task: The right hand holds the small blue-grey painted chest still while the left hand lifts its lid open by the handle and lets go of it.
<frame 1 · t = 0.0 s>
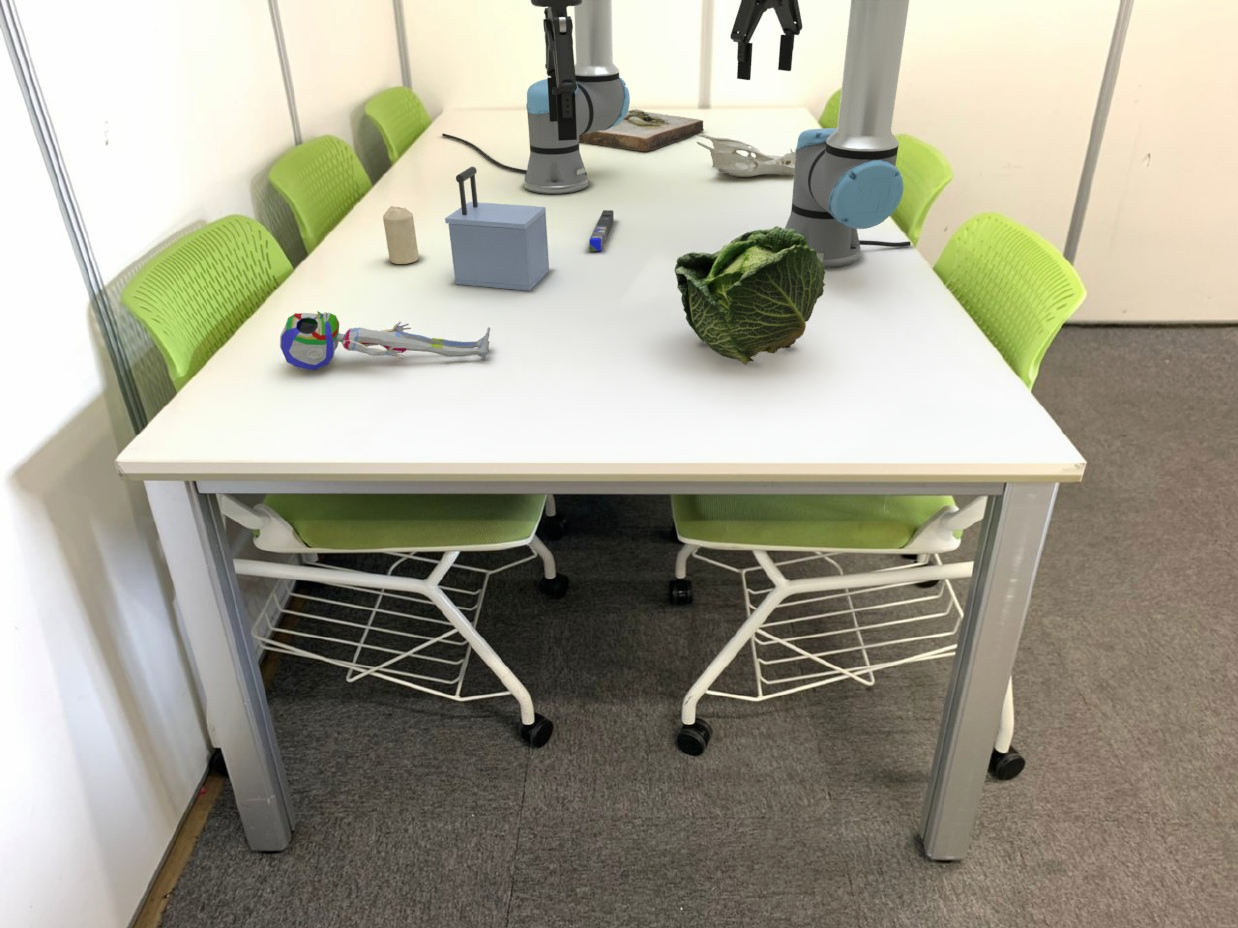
left hand: (764, 75, 179), 28 cm above the table, tool pointing down, fingers open, 13 cm apart
right hand: (562, 130, 139), 28 cm above the table, tool pointing down, fingers open, 13 cm apart
lid: (494, 195, 156), point 15 cm above the table, hinge at 0.0°
plaque: (633, 136, 259), on the table
pillar: (602, 236, 183), on the table
toy: (390, 361, 135), on the table
anatomical model: (746, 174, 221), on the table
candle: (404, 260, 172), on the table
vegetable: (746, 350, 136), on the table
chest: (503, 277, 164), on the table
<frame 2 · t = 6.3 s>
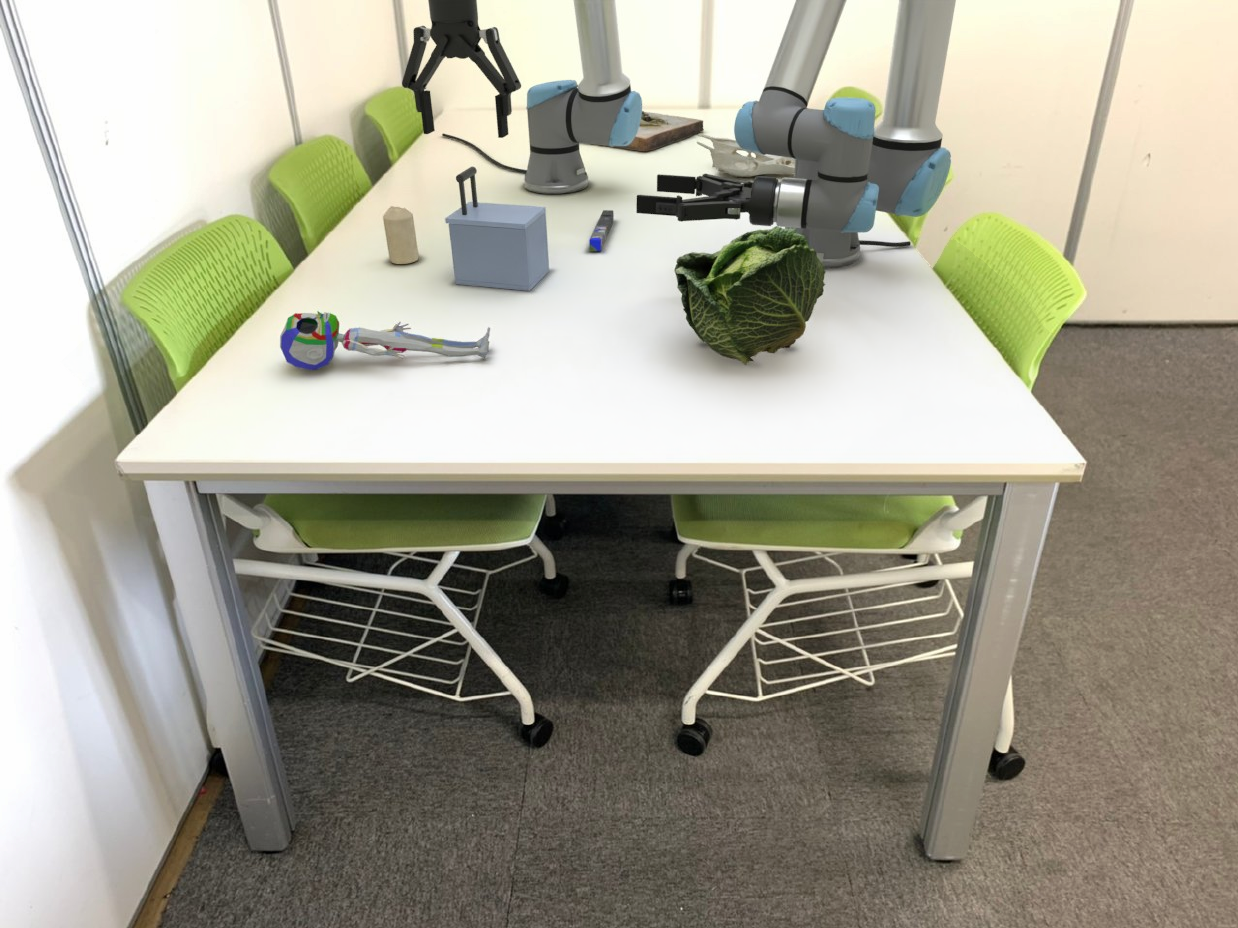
left hand: (466, 134, 152), 25 cm above the table, tool pointing down, fingers open, 13 cm apart
right hand: (647, 193, 148), 17 cm above the table, tool horizontal, fingers open, 13 cm apart
nothing on the table moved.
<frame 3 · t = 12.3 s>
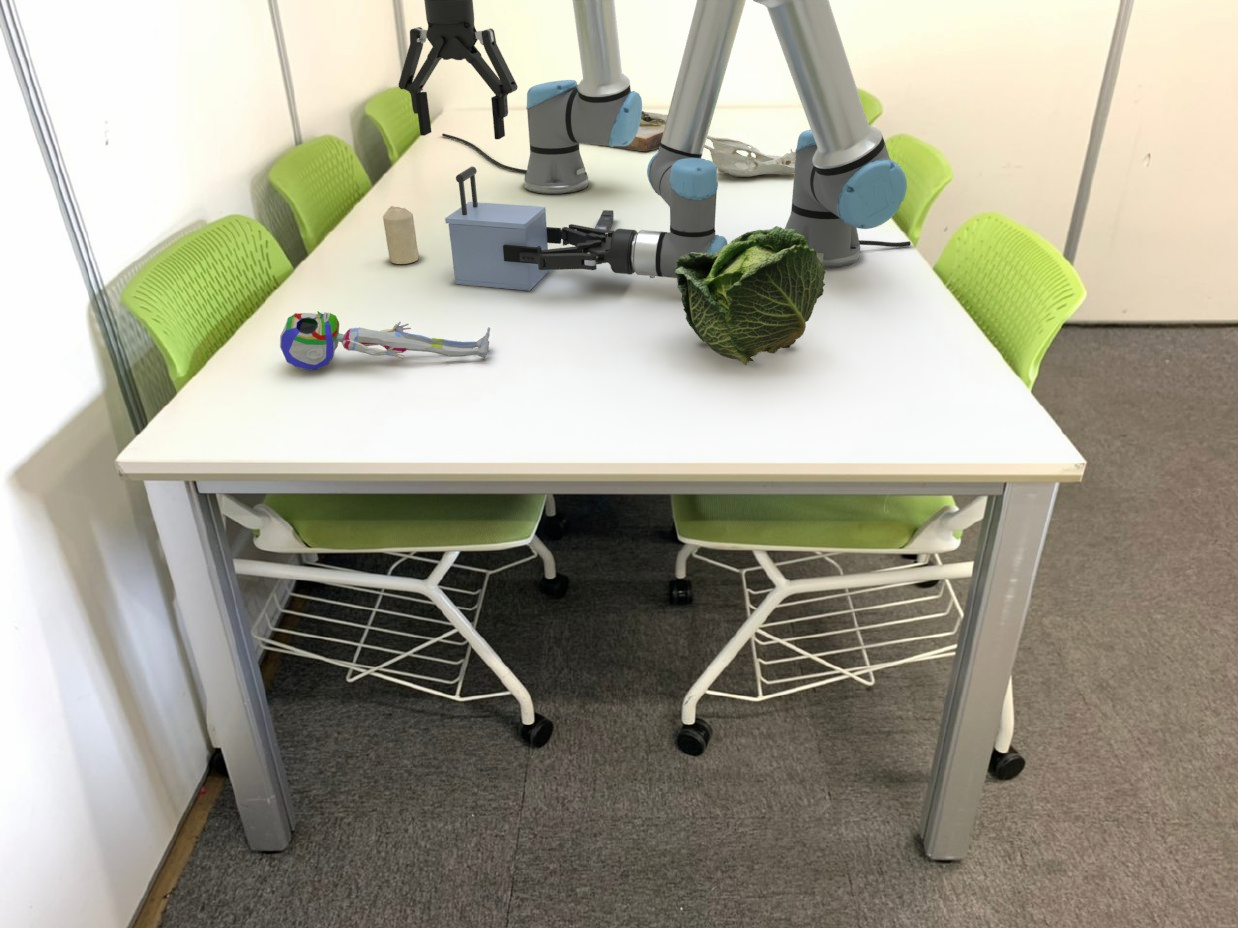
left hand: (462, 136, 152), 25 cm above the table, tool pointing down, fingers open, 13 cm apart
right hand: (515, 243, 159), 7 cm above the table, tool horizontal, fingers closed on chest, 10 cm apart
chest: (503, 277, 164), on the table, touching right hand
everything else where it was.
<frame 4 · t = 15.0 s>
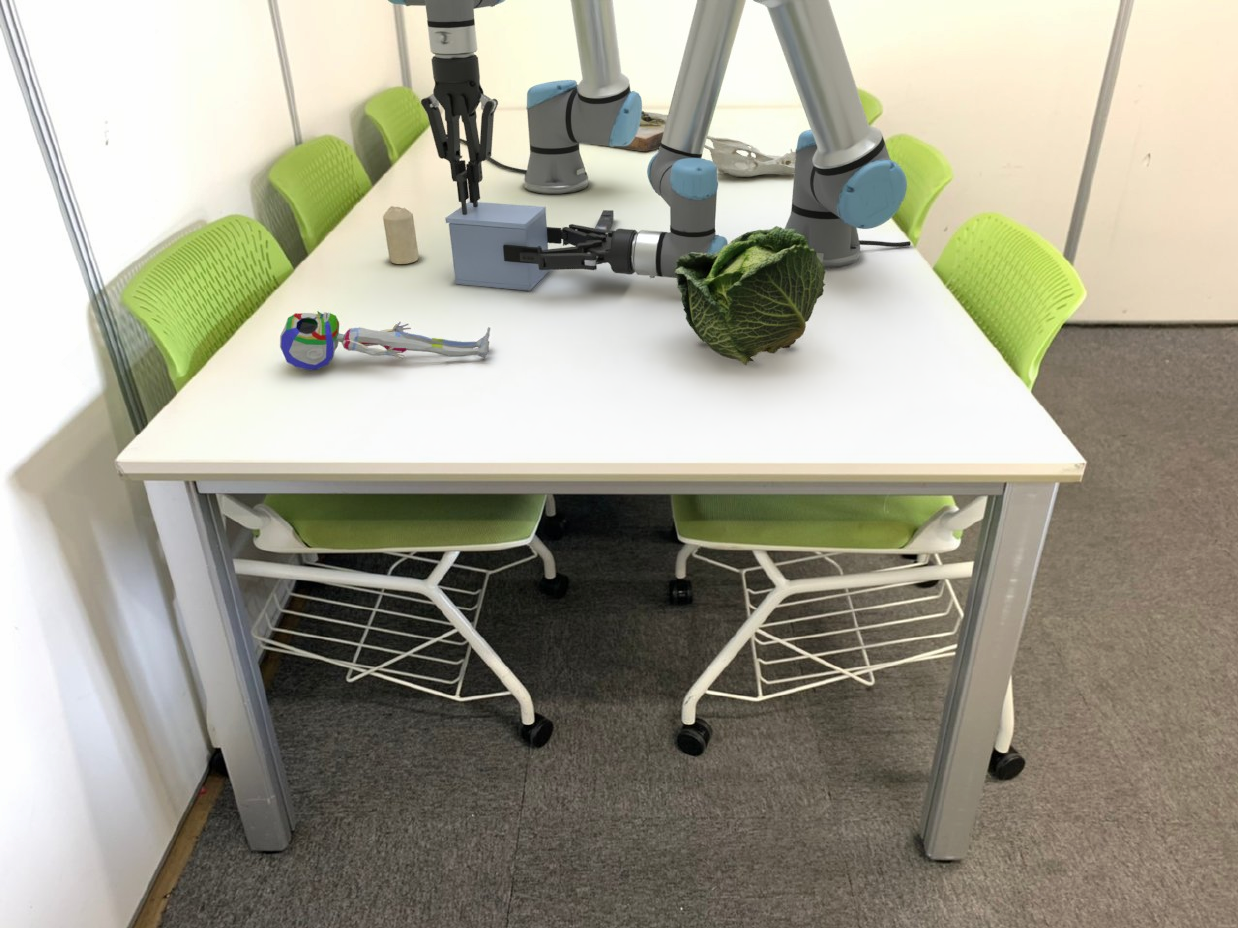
left hand: (469, 200, 158), 14 cm above the table, tool pointing down, fingers closed on lid, 1 cm apart
right hand: (515, 243, 159), 7 cm above the table, tool horizontal, fingers closed on chest, 10 cm apart
lid: (494, 195, 156), point 15 cm above the table, hinge at 0.2°, touching left hand
chest: (503, 277, 164), on the table, touching right hand
everything else where it was.
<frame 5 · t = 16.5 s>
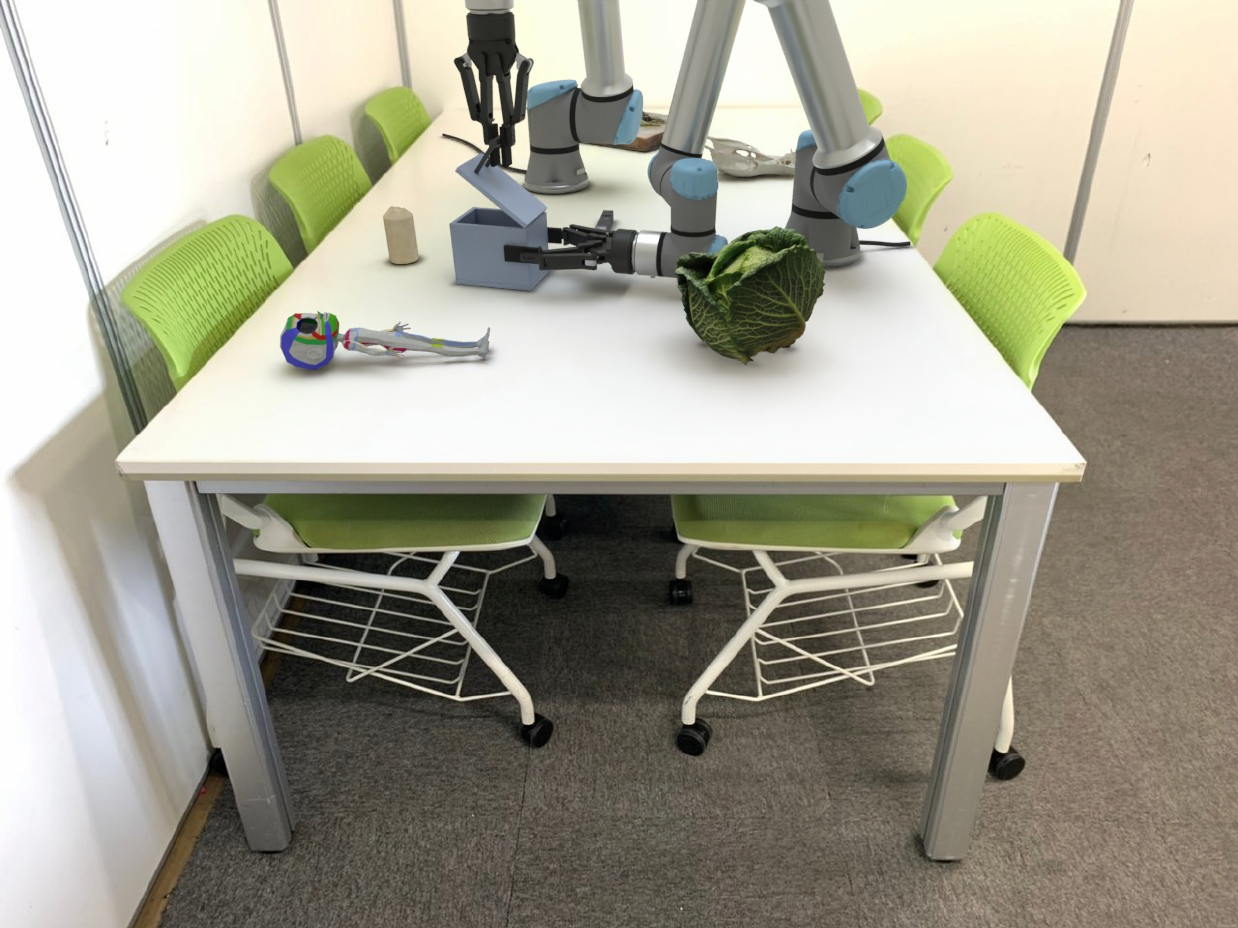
left hand: (501, 165, 153), 20 cm above the table, tool pointing down, fingers closed on lid, 1 cm apart
right hand: (516, 243, 159), 7 cm above the table, tool horizontal, fingers closed on chest, 10 cm apart
lid: (512, 174, 153), point 19 cm above the table, hinge at 37.0°, touching left hand
chest: (503, 277, 164), on the table, touching right hand
everything else where it was.
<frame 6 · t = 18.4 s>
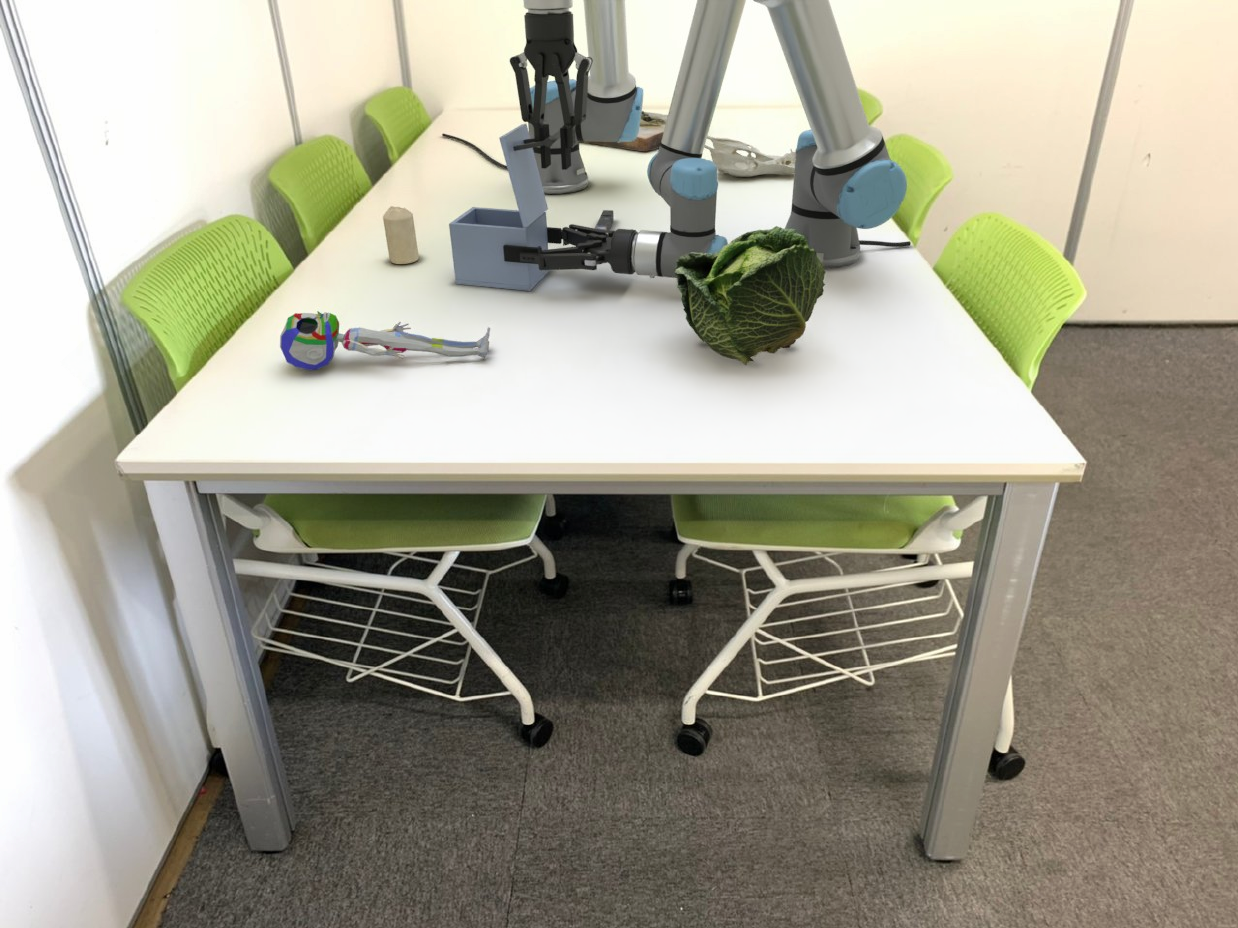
left hand: (556, 166, 150), 20 cm above the table, tool pointing down, fingers open, 3 cm apart
right hand: (516, 243, 159), 7 cm above the table, tool horizontal, fingers closed on chest, 10 cm apart
lid: (543, 172, 151), point 19 cm above the table, hinge at 77.9°
chest: (503, 277, 164), on the table, touching right hand
everything else where it was.
when the right hand's fingers open (7 cm above the table, at t = 22.2 s): chest stays where it is, on the table.
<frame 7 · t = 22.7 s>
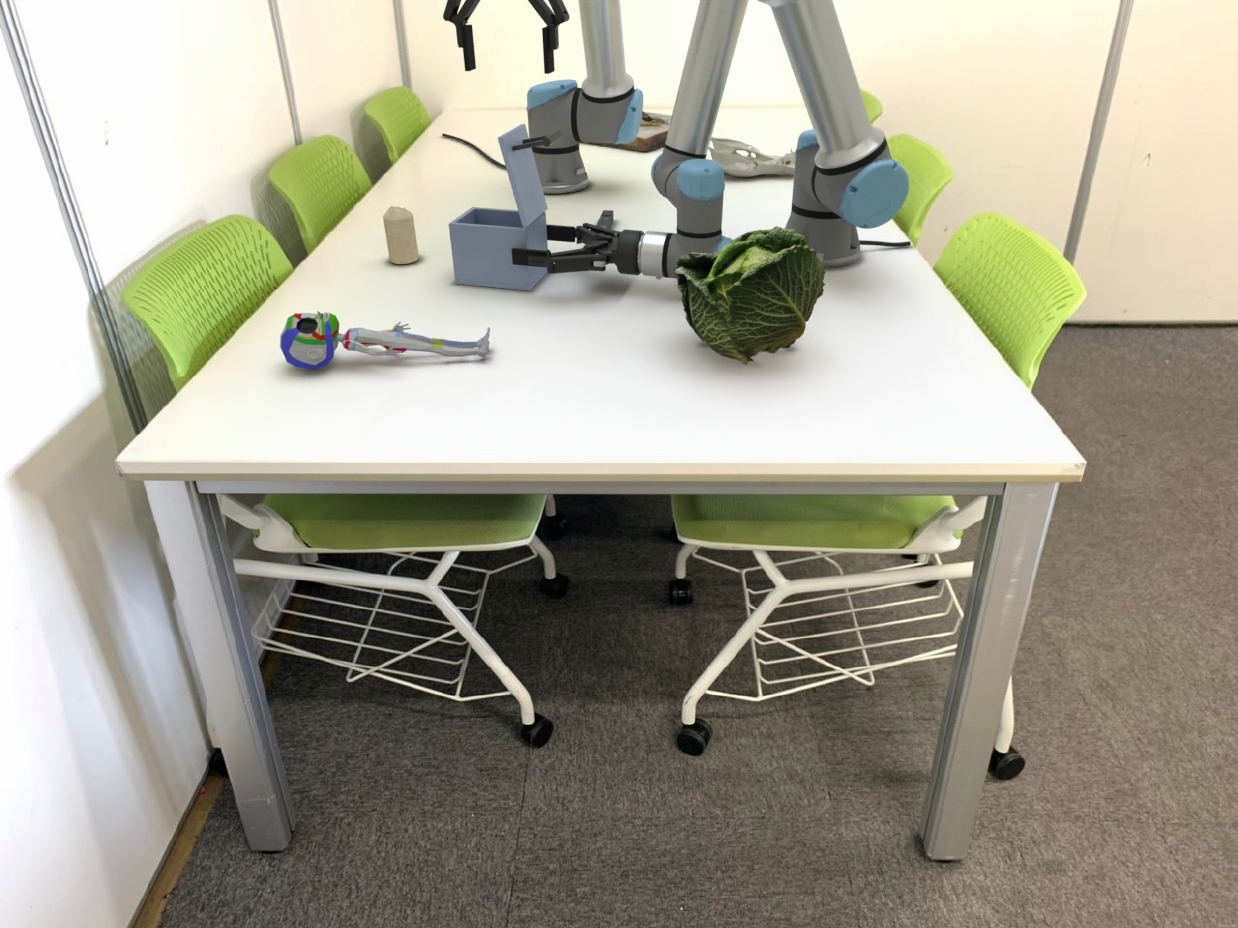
left hand: (509, 71, 144), 35 cm above the table, tool pointing down, fingers open, 13 cm apart
right hand: (527, 243, 159), 7 cm above the table, tool horizontal, fingers open, 13 cm apart
lid: (542, 171, 151), point 19 cm above the table, hinge at 77.1°
chest: (502, 277, 164), on the table
everything else where it was.
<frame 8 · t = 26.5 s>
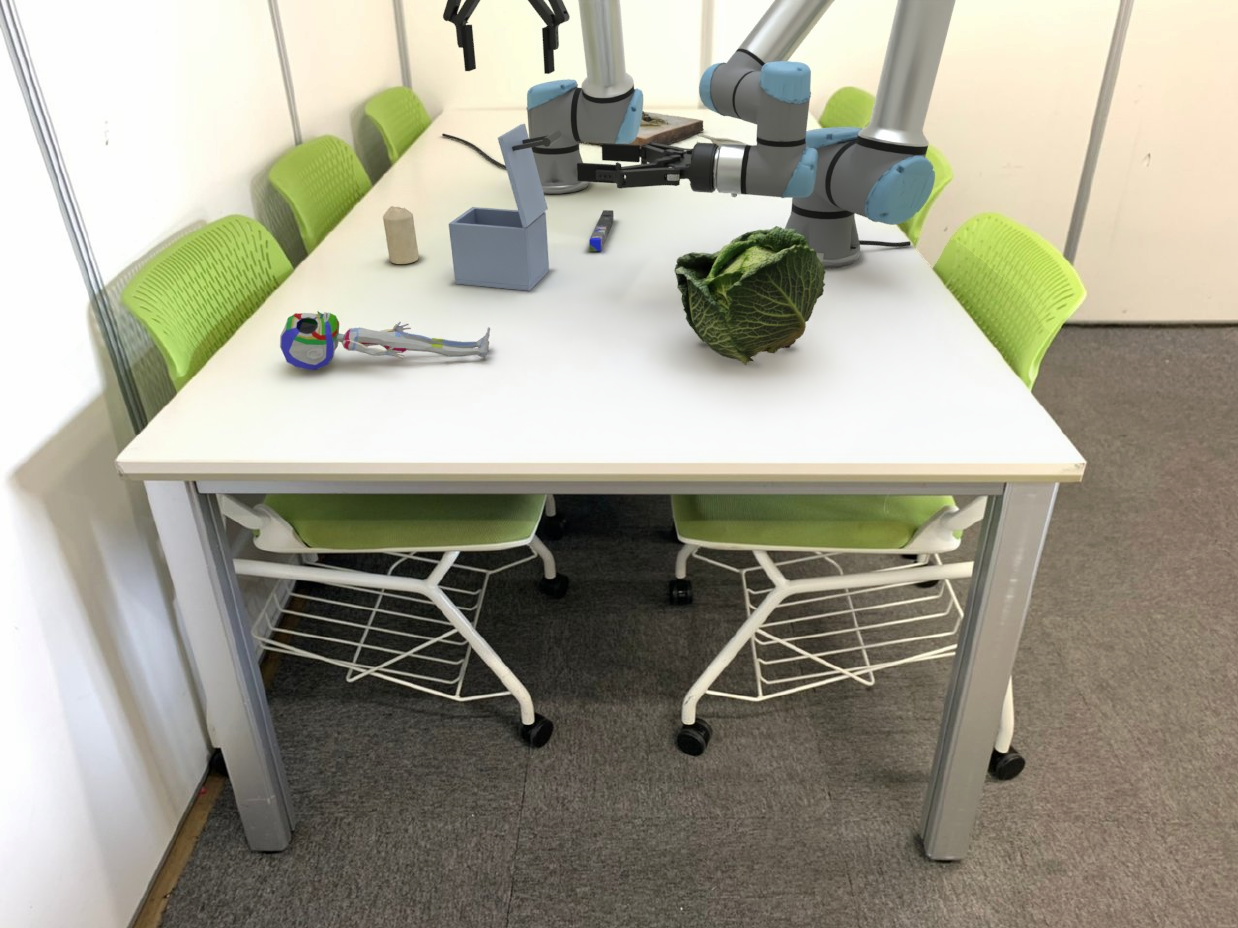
left hand: (509, 71, 144), 35 cm above the table, tool pointing down, fingers open, 13 cm apart
right hand: (590, 161, 148), 22 cm above the table, tool horizontal, fingers open, 13 cm apart
nothing on the table moved.
at the end: lid at +77° (first picture: +0°); the left hand is holding nothing; the right hand is holding nothing; chest tilted 0°; chest never tilted more than 1° during the clip; chest moved 0.1 cm from its start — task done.
